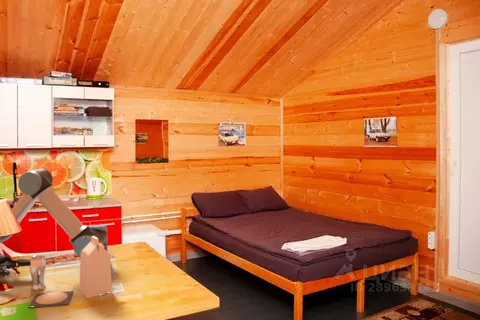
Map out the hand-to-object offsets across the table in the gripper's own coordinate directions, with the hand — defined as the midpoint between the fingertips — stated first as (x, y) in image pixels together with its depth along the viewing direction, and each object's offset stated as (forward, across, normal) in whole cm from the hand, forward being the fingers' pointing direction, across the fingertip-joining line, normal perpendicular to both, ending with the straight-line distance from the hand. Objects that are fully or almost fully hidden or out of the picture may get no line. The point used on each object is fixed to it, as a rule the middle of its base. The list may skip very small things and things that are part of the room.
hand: (28, 269), depth 204 cm
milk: (+33, -11, -8) cm, 36 cm away
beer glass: (+7, 0, -8) cm, 10 cm away
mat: (+24, +6, -8) cm, 26 cm away
